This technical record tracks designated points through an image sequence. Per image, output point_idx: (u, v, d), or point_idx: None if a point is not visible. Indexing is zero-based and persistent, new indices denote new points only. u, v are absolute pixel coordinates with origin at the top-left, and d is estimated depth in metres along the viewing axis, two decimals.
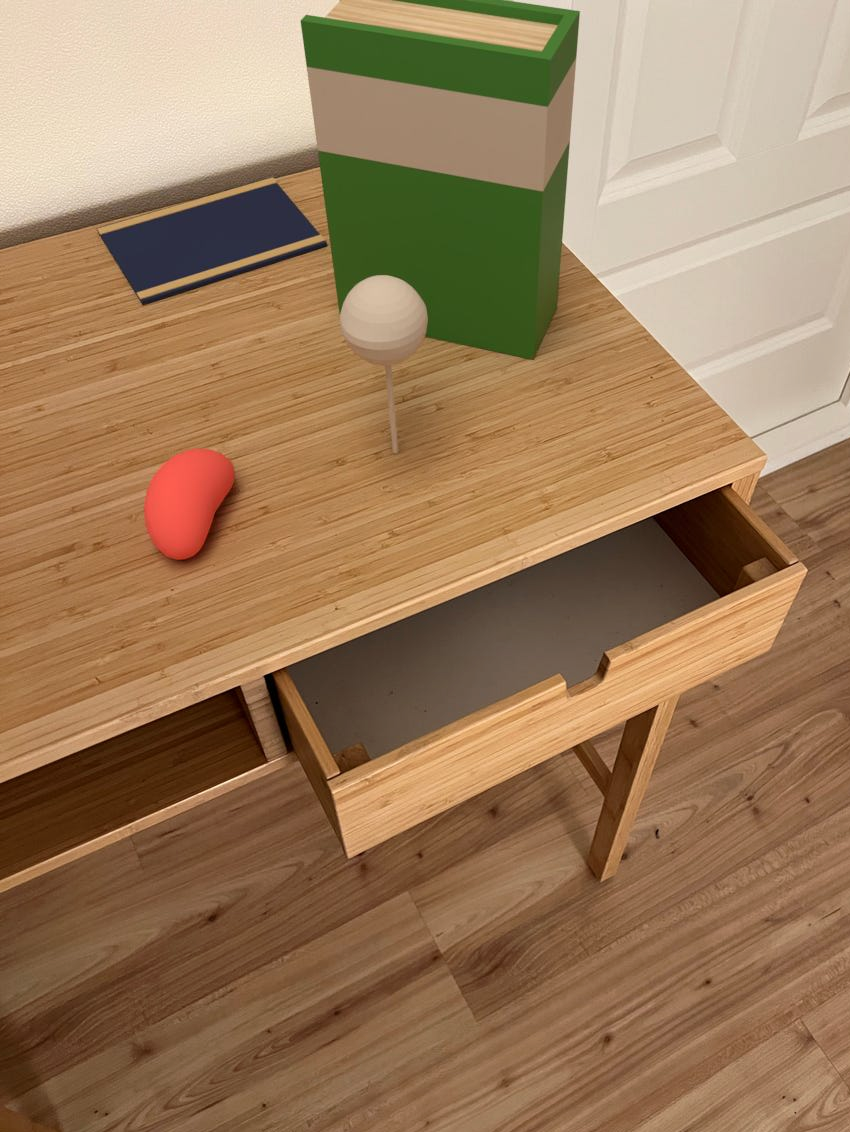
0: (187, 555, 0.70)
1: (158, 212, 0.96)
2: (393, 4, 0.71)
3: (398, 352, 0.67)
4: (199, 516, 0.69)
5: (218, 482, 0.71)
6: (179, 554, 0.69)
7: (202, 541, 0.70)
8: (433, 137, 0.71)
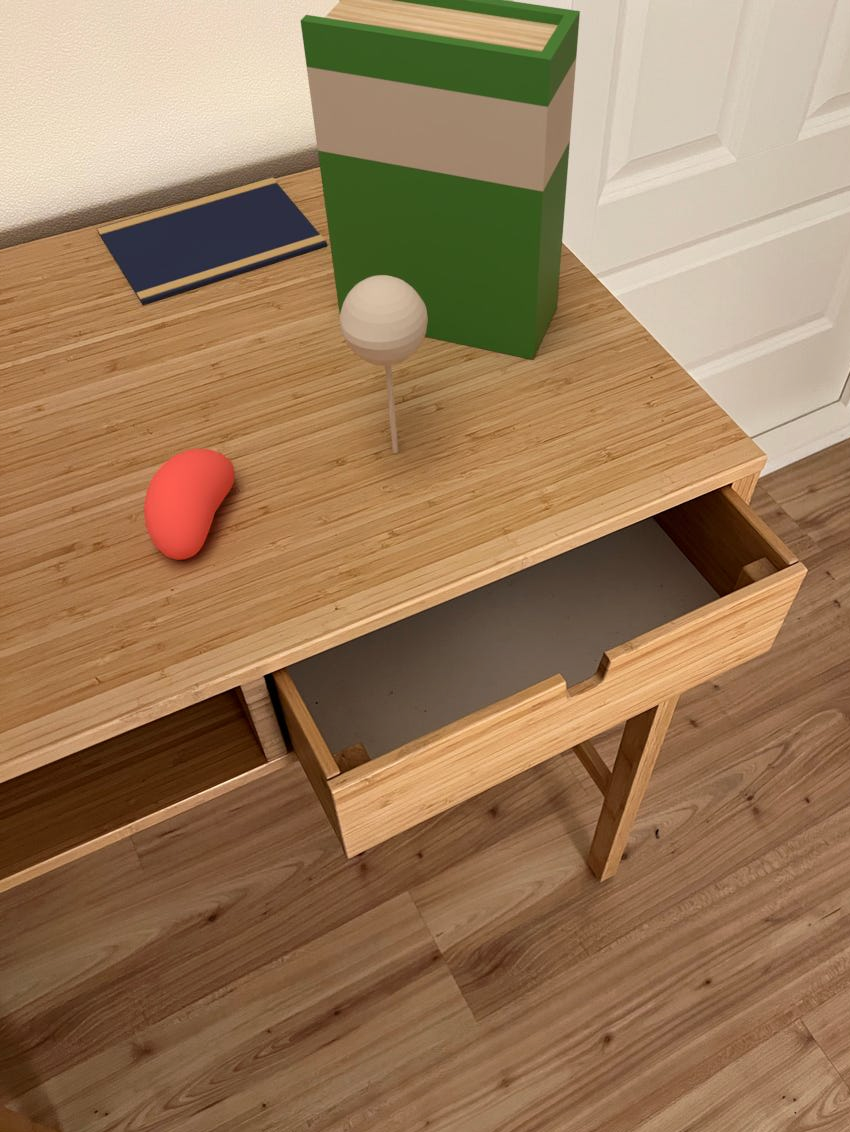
0: (187, 555, 0.70)
1: (158, 212, 0.96)
2: (393, 4, 0.71)
3: (398, 352, 0.66)
4: (199, 516, 0.69)
5: (218, 483, 0.71)
6: (179, 554, 0.69)
7: (202, 541, 0.70)
8: (433, 137, 0.71)
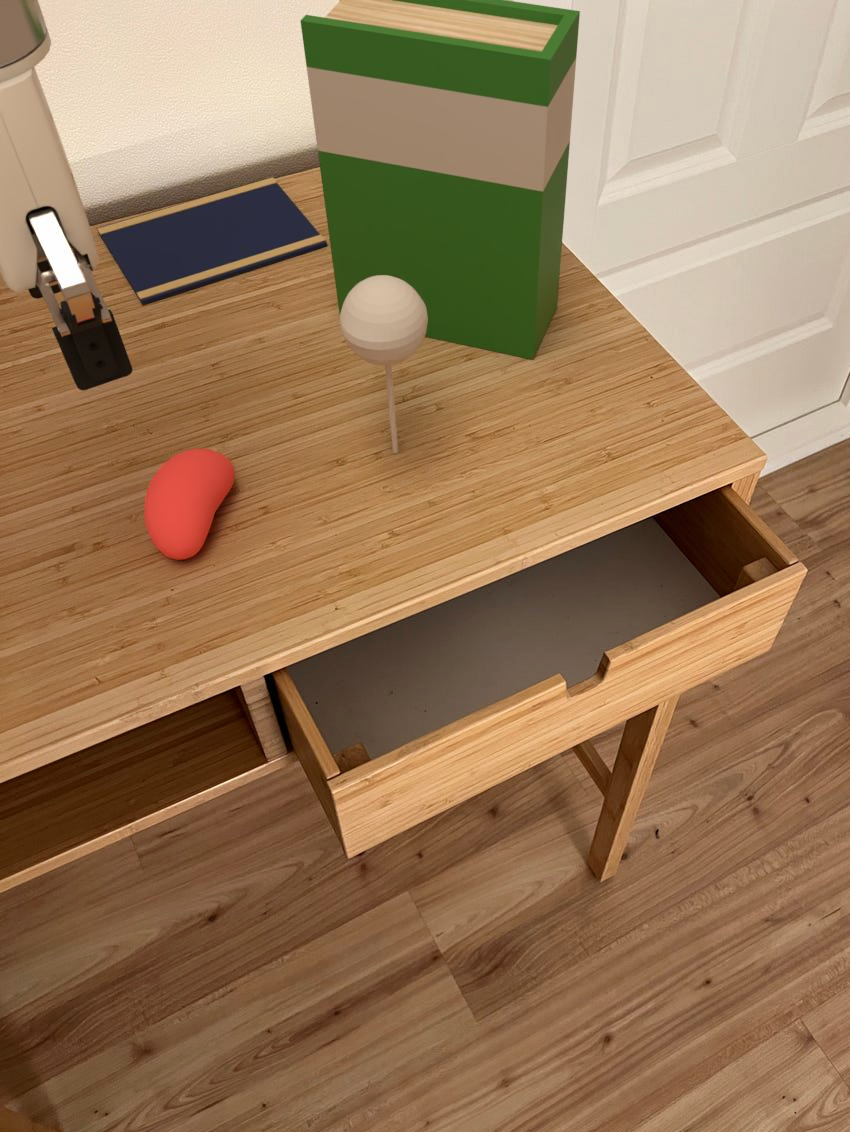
0: (187, 555, 0.70)
1: (158, 212, 0.96)
2: (393, 4, 0.71)
3: (398, 352, 0.66)
4: (199, 516, 0.69)
5: (218, 482, 0.71)
6: (179, 554, 0.69)
7: (202, 541, 0.70)
8: (433, 137, 0.71)
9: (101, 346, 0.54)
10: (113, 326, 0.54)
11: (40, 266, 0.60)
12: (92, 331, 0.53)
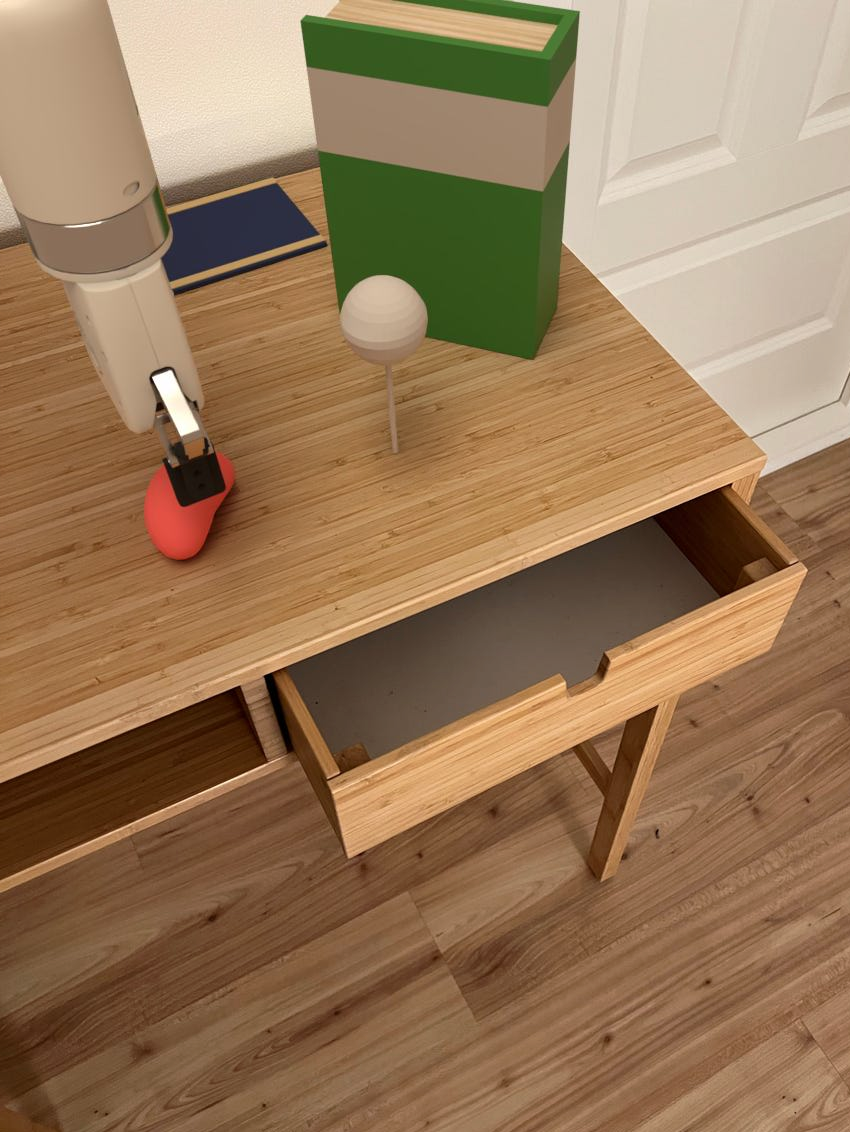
0: (187, 555, 0.70)
1: None
2: (392, 4, 0.71)
3: (398, 351, 0.67)
4: (199, 516, 0.69)
5: None
6: (179, 554, 0.69)
7: (202, 541, 0.70)
8: (433, 137, 0.71)
9: (203, 472, 0.62)
10: (213, 454, 0.63)
11: None
12: (197, 461, 0.62)
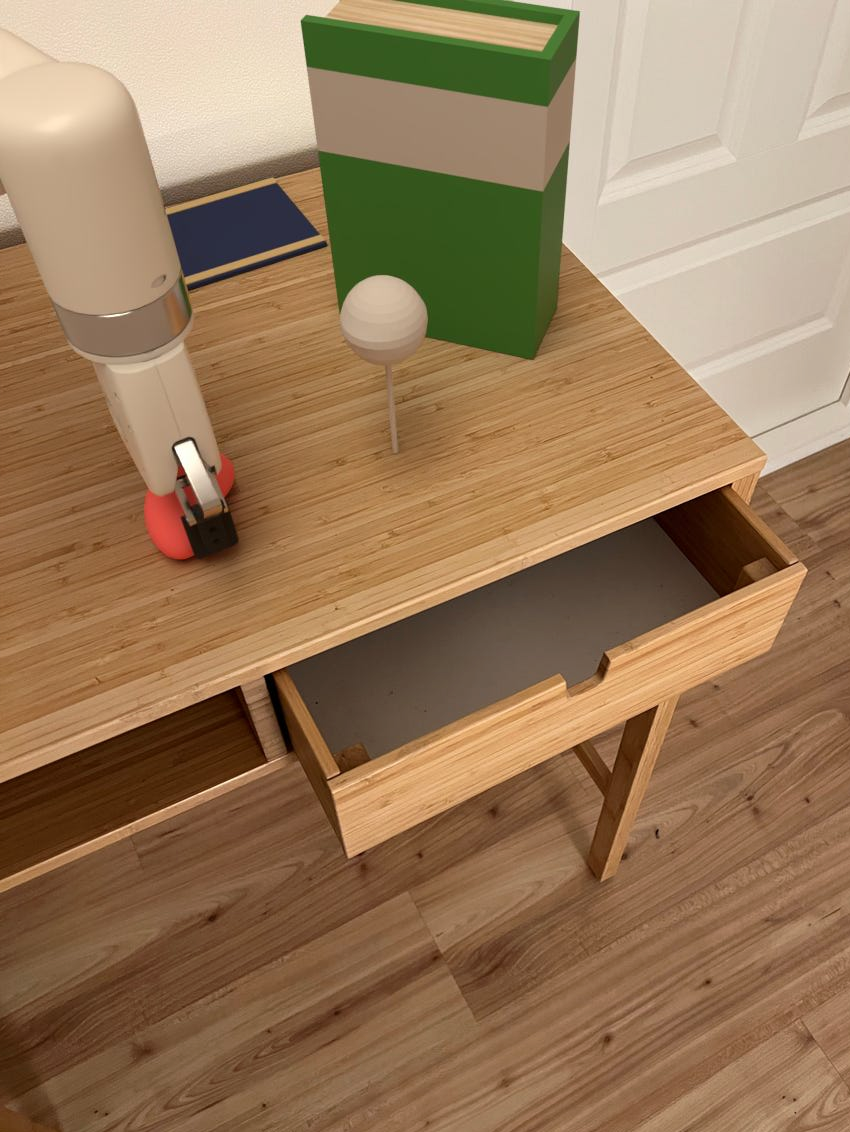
0: (187, 555, 0.70)
1: None
2: (393, 4, 0.71)
3: (398, 352, 0.66)
4: None
5: (218, 482, 0.71)
6: (179, 554, 0.69)
7: None
8: (433, 137, 0.71)
9: (218, 529, 0.67)
10: (227, 512, 0.68)
11: None
12: (212, 519, 0.66)
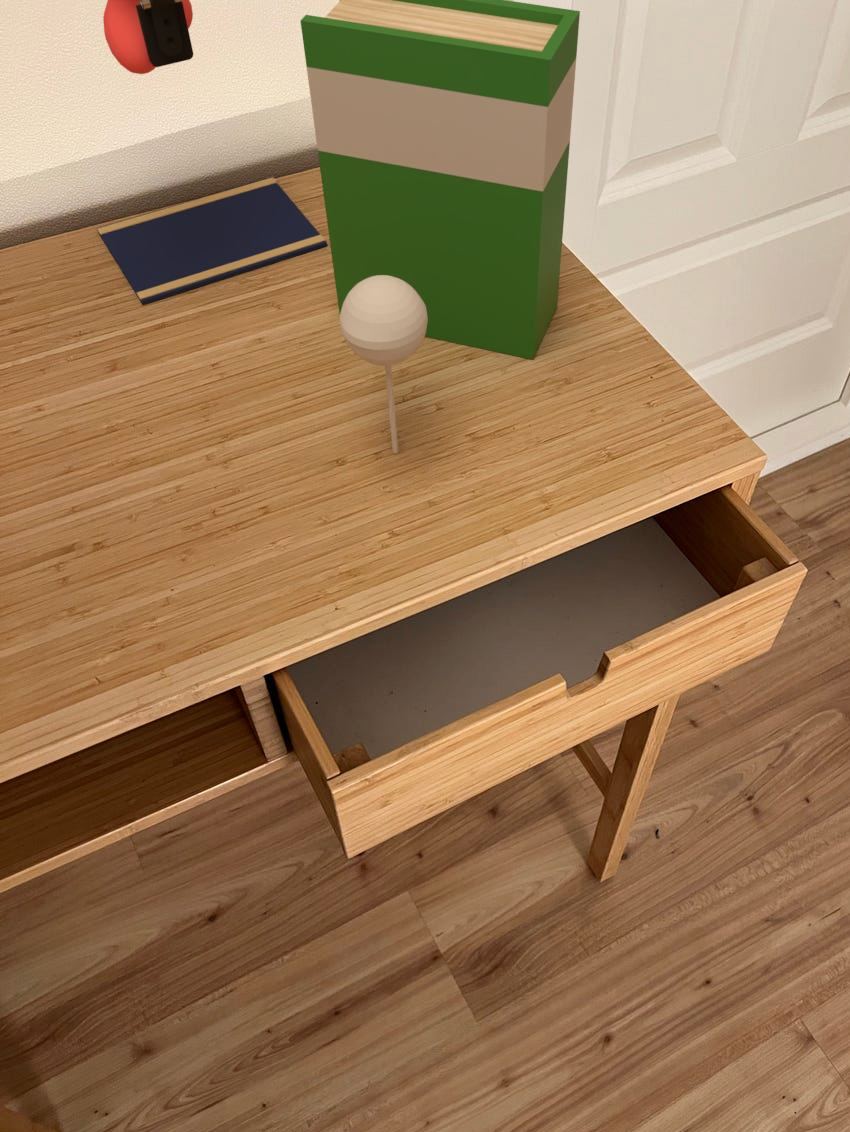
0: (144, 63, 0.73)
1: (158, 212, 0.96)
2: (393, 4, 0.71)
3: (398, 351, 0.67)
4: None
5: None
6: (136, 60, 0.73)
7: None
8: (433, 137, 0.71)
9: (172, 24, 0.71)
10: (181, 10, 0.71)
11: None
12: (166, 8, 0.70)
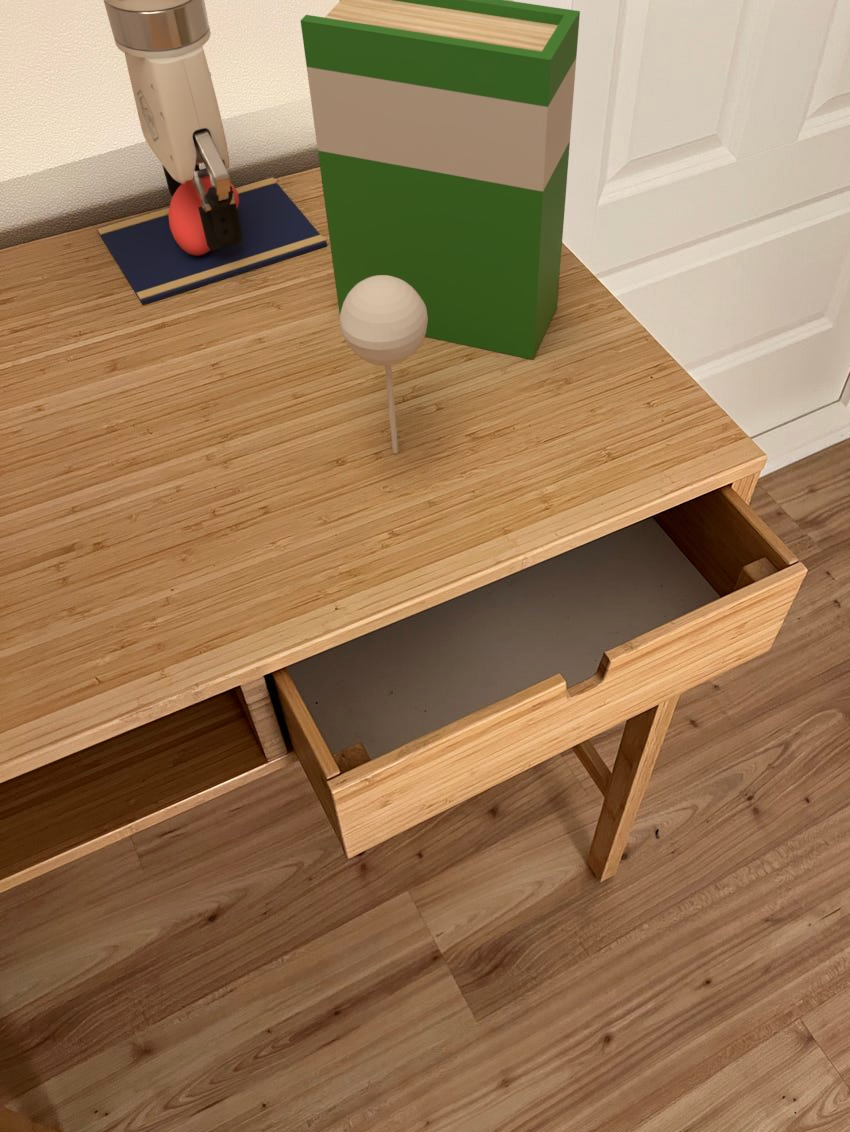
0: (202, 249, 0.90)
1: (158, 212, 0.96)
2: (393, 4, 0.71)
3: (398, 351, 0.67)
4: None
5: None
6: (195, 247, 0.90)
7: None
8: (433, 137, 0.71)
9: (227, 220, 0.87)
10: (234, 208, 0.87)
11: None
12: (223, 209, 0.86)
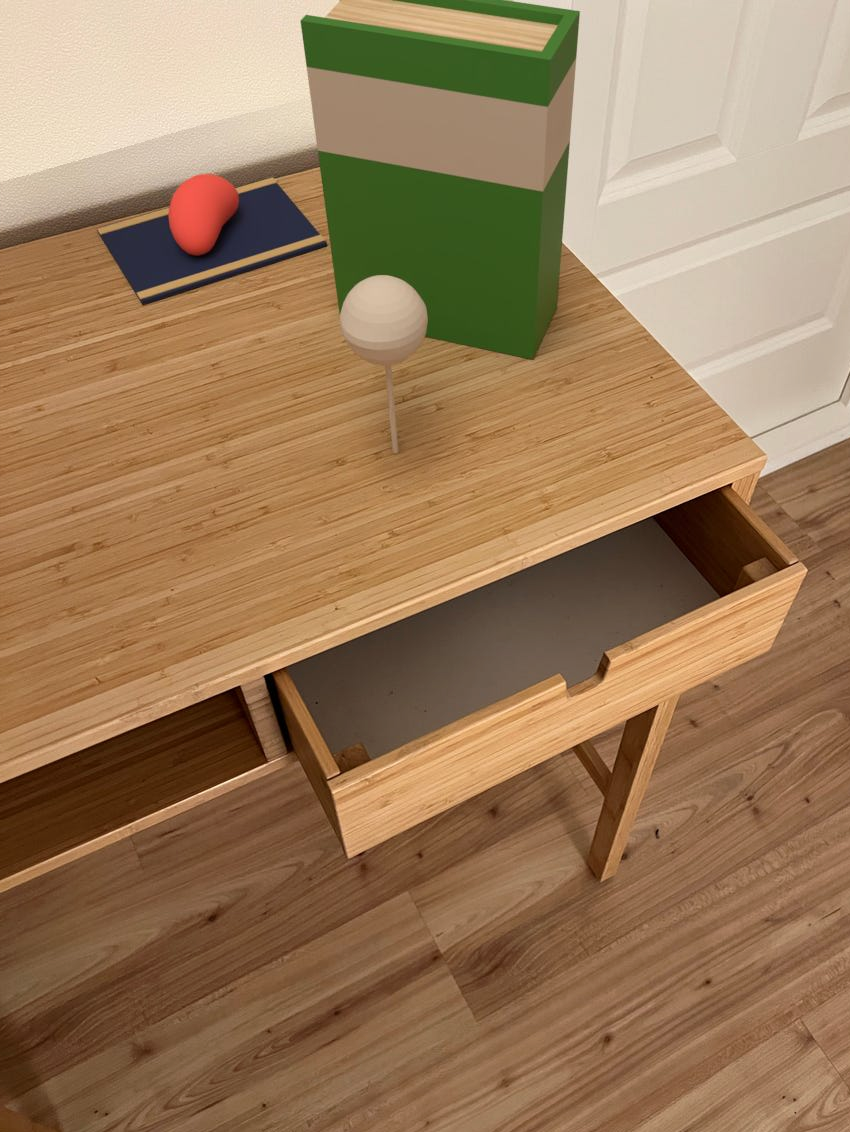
0: (202, 249, 0.90)
1: (158, 212, 0.96)
2: (393, 4, 0.71)
3: (398, 351, 0.67)
4: (211, 218, 0.90)
5: (226, 198, 0.91)
6: (195, 247, 0.90)
7: (213, 239, 0.90)
8: (433, 137, 0.71)
9: None
10: None
11: None
12: None
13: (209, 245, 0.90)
